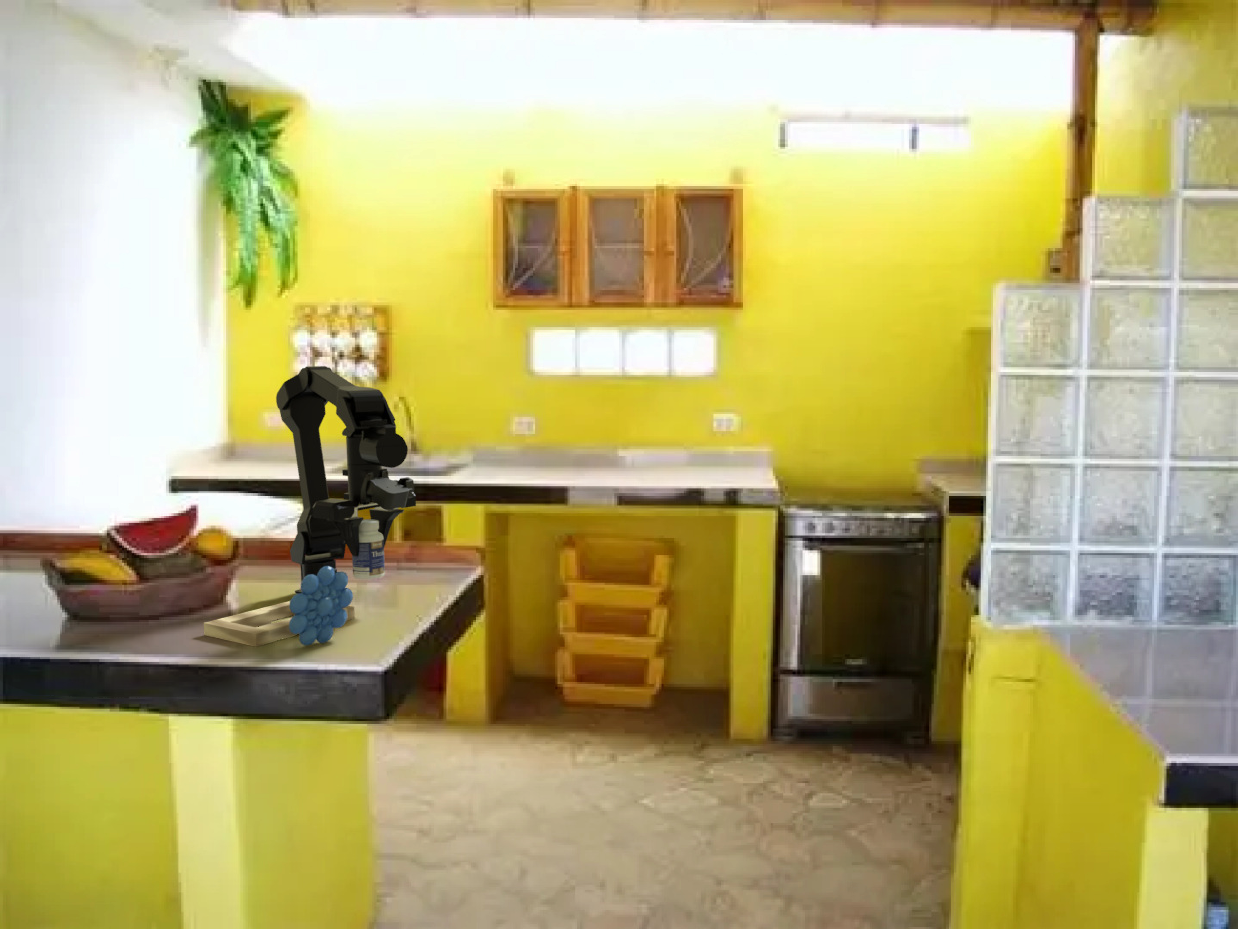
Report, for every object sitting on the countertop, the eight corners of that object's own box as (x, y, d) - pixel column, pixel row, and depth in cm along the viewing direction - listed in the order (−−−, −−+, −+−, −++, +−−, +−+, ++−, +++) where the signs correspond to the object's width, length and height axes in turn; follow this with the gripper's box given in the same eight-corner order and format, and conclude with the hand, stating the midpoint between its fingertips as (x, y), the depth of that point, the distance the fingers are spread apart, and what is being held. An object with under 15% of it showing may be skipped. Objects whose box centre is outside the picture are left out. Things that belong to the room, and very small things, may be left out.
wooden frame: (303, 608, 188) (303, 597, 187) (354, 618, 180) (354, 606, 180) (204, 635, 171) (203, 622, 171) (256, 646, 164) (255, 634, 164)
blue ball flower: (336, 630, 173) (333, 558, 171) (363, 637, 169) (360, 562, 167) (274, 647, 164) (270, 570, 162) (300, 654, 159) (297, 575, 158)
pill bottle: (377, 580, 180) (374, 523, 179) (347, 579, 181) (345, 523, 180) (390, 574, 185) (388, 518, 184) (361, 573, 186) (359, 518, 185)
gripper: (355, 471, 169) (359, 568, 171) (437, 460, 184) (440, 549, 186) (308, 467, 175) (313, 561, 177) (391, 457, 190) (394, 543, 192)
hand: (368, 553), depth 183 cm, fingers closed on pill bottle, 5 cm apart
